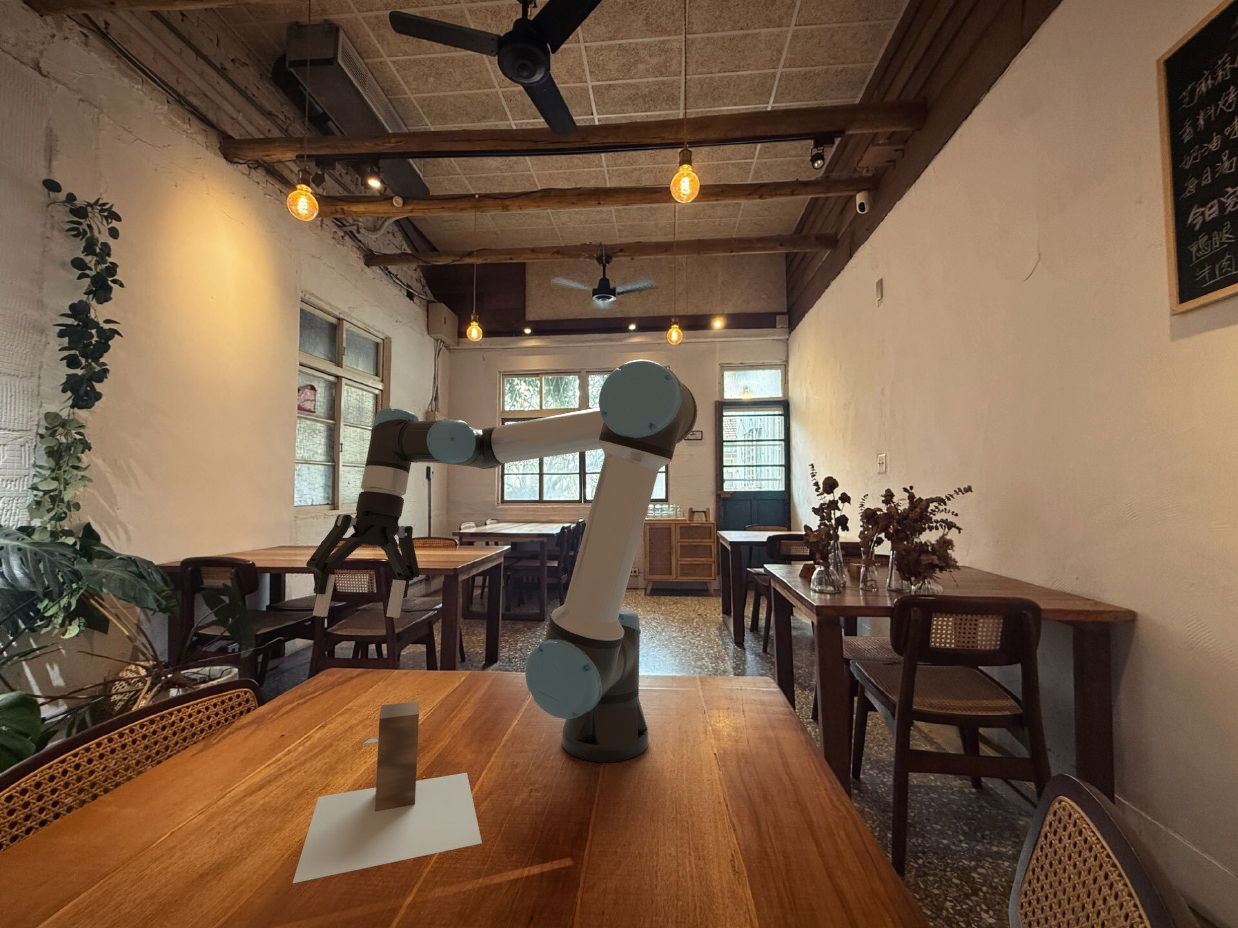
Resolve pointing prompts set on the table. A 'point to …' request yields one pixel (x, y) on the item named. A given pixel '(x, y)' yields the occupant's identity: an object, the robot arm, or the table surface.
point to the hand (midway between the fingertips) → (358, 616)
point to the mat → (387, 828)
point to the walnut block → (397, 756)
